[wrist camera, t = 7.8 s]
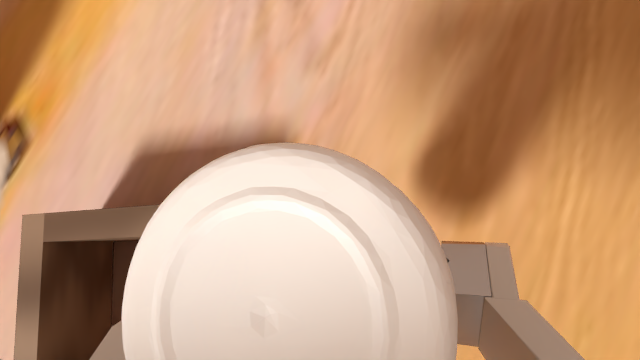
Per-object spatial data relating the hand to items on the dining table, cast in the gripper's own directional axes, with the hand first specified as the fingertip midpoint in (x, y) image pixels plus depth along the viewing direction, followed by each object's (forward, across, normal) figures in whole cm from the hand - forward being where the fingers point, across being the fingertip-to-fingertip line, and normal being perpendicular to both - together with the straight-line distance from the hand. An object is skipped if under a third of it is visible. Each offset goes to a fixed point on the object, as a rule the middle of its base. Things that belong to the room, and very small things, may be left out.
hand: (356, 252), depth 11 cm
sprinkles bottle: (+5, 0, +6) cm, 8 cm away
